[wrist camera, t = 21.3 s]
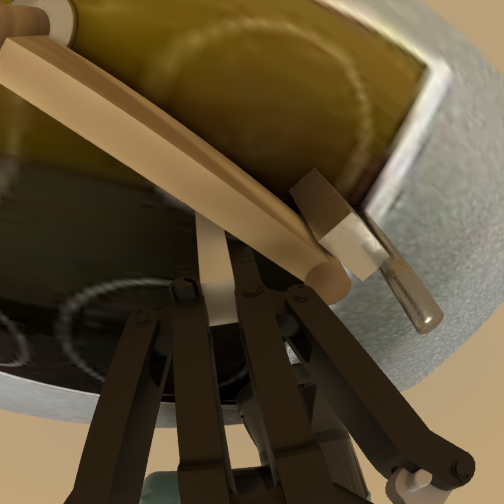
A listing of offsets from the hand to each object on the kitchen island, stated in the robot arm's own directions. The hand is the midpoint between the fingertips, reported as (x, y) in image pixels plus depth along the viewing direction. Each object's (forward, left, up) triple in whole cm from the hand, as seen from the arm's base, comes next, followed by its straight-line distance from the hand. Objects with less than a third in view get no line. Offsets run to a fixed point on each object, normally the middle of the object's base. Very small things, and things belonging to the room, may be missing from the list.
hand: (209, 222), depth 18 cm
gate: (+3, +6, -1) cm, 6 cm away
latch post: (+5, -6, -3) cm, 9 cm away
